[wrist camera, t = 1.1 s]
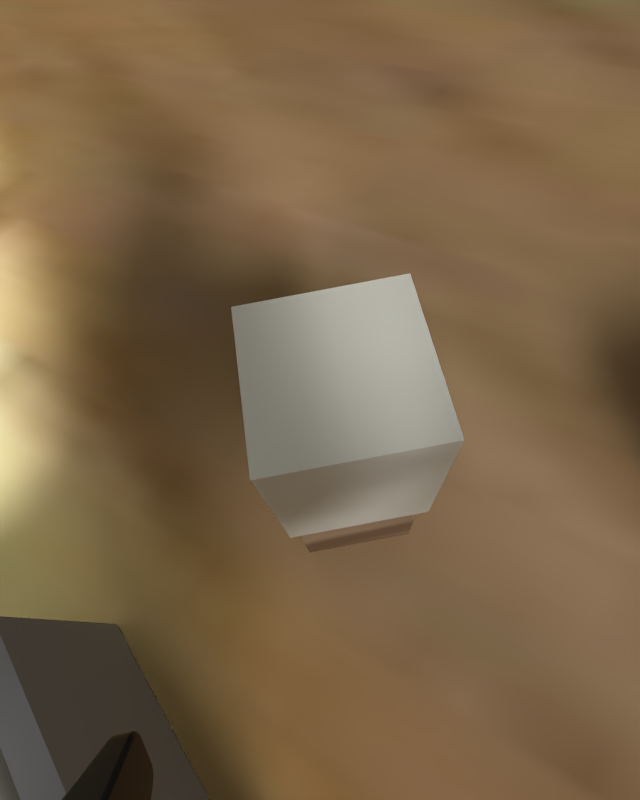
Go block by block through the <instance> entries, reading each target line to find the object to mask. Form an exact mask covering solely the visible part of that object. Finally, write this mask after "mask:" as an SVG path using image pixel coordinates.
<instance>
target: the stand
mask: <svg viewBox="0 0 640 800" xmlns="http://www.w3.org/2000/svg"><path fill="white" fill-rule="evenodd" d="M415 516H416V514H414V515H409V516H403V517H398V518H393V519H388V520H382V521H377V522H372V523H366V524H361V525H356V526H351V527H345V528H340V529H335V530H329V531H324V532H319V533H314V534H308V535H303V536H301V538H302V540H303V541H304V543H305V545H306V546H307V548H308V550H309V551H310V552H313V551H318V550H324V549H329V548H334V547H339V546H345V545H350V544H355V543H360V542H366V541H371V540H376V539H382V538H387V537H392V536H397V535H403V534H408V533H409V530H410V528H411V525H412V523H413V521H414V518H415Z"/></svg>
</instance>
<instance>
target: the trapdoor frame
mask: <svg viewBox="0 0 640 800" xmlns="http://www.w3.org/2000/svg"><path fill="white" fill-rule="evenodd" d="M129 731H137V732H138V733H140V735H141V737H142V740H143V742H144V744H145V747H146V749H147V752H148V754H149V757H150V759H151V762H152V765H153V771H154V781H153V790H152V798H151V800H209V799H208V797H207V795H206V793H205V791H204V789H203V787H202V785H201V783H200V782H199V780H198V778H197V776H196V774H195V772H194V770H193V768H192V766H191V764H190V763H189V761H188V759H187V757H186V755H185V753H184V751H183V749H182V747H181V745H180V744H179V742H178V740H177V738H176V736H175V734H174V732H173V730H172V728H171V726H170V725H169V723H168V721H167V719H166V717H165V715H164V713H163V711H162V709H161V707H160V706H159V704H158V702H157V700H156V698H155V696H154V694H153V692H152V690H151V688H150V687H149V685H148V683H147V681H146V679H145V677H144V675H143V673H142V671H141V670H140V668H139V666H138V664H137V662H136V660H135V658H134V656H133V654H132V652H131V651H130V649H129V647H128V645H127V643H126V641H125V639H124V637H123V635H122V633H121V632H120V630H119V628H118V626H117V624H105V623H90V622H74V621H59V620H44V619H29V618H14V617H0V747H1V750H2V753H3V755H4V758H5V761H6V763H7V766H8V769H9V771H10V774H11V777H12V779H13V782H14V785H15V787H16V790H17V792H18V795H19V798H20V800H61V799H62V798H63V796H64V795H65V794H66V793H67V791H68V790H69V789H70V788H71V786H72V785H73V784H74V782H75V781H76V780H77V779H78V777H79V776H80V775H81V773H82V772H83V771H84V770H85V768H86V767H87V766H88V764H89V763H90V762H91V761H92V759H93V758H94V757H95V755H96V754H97V753H98V752H99V750H100V749H101V748H102V746H103V745H104V744H105V743H106V741H107V740H108V739H109V738H110V737H111V736H113V735H115V734H118V733H124V732H129Z"/></svg>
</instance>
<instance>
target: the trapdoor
mask: <svg viewBox="0 0 640 800" xmlns="http://www.w3.org/2000/svg"><path fill="white" fill-rule="evenodd" d="M0 800H20V798H19V795H18V792H17V790H16V787H15V785H14V782H13V779H12V777H11V774H10V771H9V769H8V766H7V763H6V761H5V758H4V755H3V753H2V750H1V747H0Z"/></svg>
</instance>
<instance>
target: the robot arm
mask: <svg viewBox="0 0 640 800" xmlns="http://www.w3.org/2000/svg"><path fill="white" fill-rule="evenodd" d="M153 781H154V771H153V765H152V762H151V759H150V757H149V754H148V752H147V749H146V747H145V744H144V742H143V740H142V737H141V735H140V733H138V732H137V731H129V732H124V733H118V734H115V735H113V736H111V737H110V738H109V739H108V740H107V741H106V743H105V744H104V745H103V746H102V748H101V749H100V750H99V752H98V753H97V754H96V755H95V757H94V758H93V759H92V761H91V762H90V763H89V764H88V766H87V767H86V768H85V770H84V771H83V772H82V773H81V775H80V776H79V777H78V779H77V780H76V781H75V782H74V784H73V785H72V786H71V788H70V789H69V790H68V791H67V793H66V794H65V795H64V796H63V798H62V799H61V800H151V798H152V790H153Z"/></svg>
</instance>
